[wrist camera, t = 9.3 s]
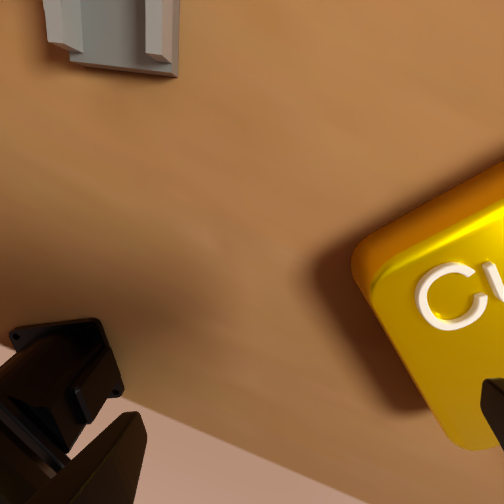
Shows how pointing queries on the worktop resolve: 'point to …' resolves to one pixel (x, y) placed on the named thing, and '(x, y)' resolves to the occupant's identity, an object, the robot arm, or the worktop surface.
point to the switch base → (117, 33)
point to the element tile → (444, 299)
